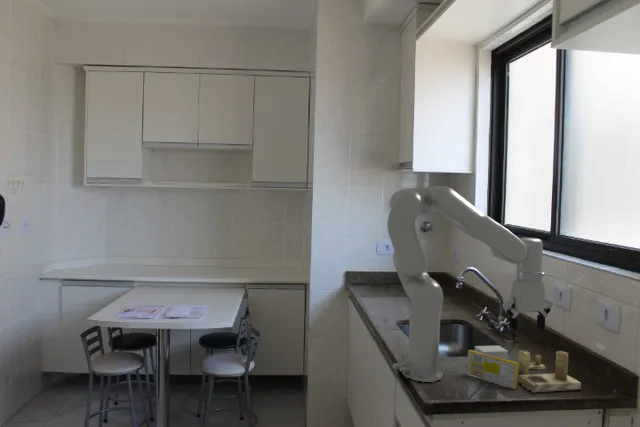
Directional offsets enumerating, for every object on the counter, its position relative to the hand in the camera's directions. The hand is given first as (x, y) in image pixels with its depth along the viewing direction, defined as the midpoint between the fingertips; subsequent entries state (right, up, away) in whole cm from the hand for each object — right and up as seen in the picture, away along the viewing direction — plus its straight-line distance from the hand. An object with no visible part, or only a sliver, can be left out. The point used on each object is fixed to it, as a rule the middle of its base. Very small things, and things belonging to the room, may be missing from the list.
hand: (527, 328), depth 164 cm
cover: (-9, -15, +10) cm, 20 cm away
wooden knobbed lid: (+6, -15, +9) cm, 19 cm away
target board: (+4, -16, -7) cm, 18 cm away
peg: (-1, -16, +1) cm, 16 cm away
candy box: (-13, -16, -5) cm, 21 cm away
